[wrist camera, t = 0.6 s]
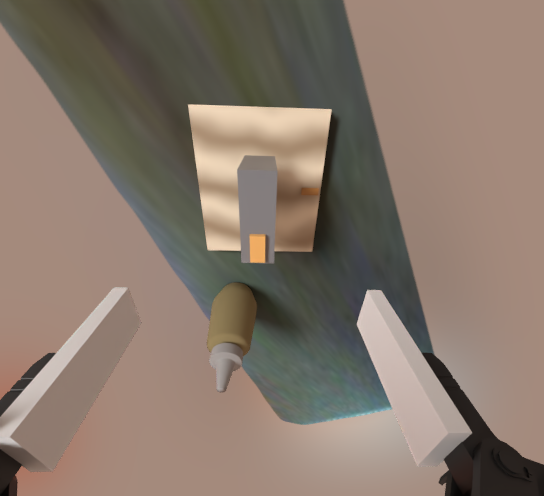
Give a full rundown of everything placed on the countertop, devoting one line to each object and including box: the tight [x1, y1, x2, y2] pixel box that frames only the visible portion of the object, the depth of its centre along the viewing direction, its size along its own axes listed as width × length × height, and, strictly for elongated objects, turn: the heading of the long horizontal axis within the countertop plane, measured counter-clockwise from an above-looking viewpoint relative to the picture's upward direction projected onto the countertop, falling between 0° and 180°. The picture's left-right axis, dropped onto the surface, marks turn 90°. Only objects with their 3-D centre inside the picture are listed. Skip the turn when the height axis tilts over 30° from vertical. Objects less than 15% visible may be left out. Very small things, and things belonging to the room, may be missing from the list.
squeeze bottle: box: [207, 282, 257, 392], centre depth 37 cm, size 8×8×18 cm
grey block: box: [237, 155, 278, 263], centre depth 26 cm, size 10×4×8 cm, turn 178°
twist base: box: [188, 105, 332, 252], centre depth 32 cm, size 20×17×4 cm
